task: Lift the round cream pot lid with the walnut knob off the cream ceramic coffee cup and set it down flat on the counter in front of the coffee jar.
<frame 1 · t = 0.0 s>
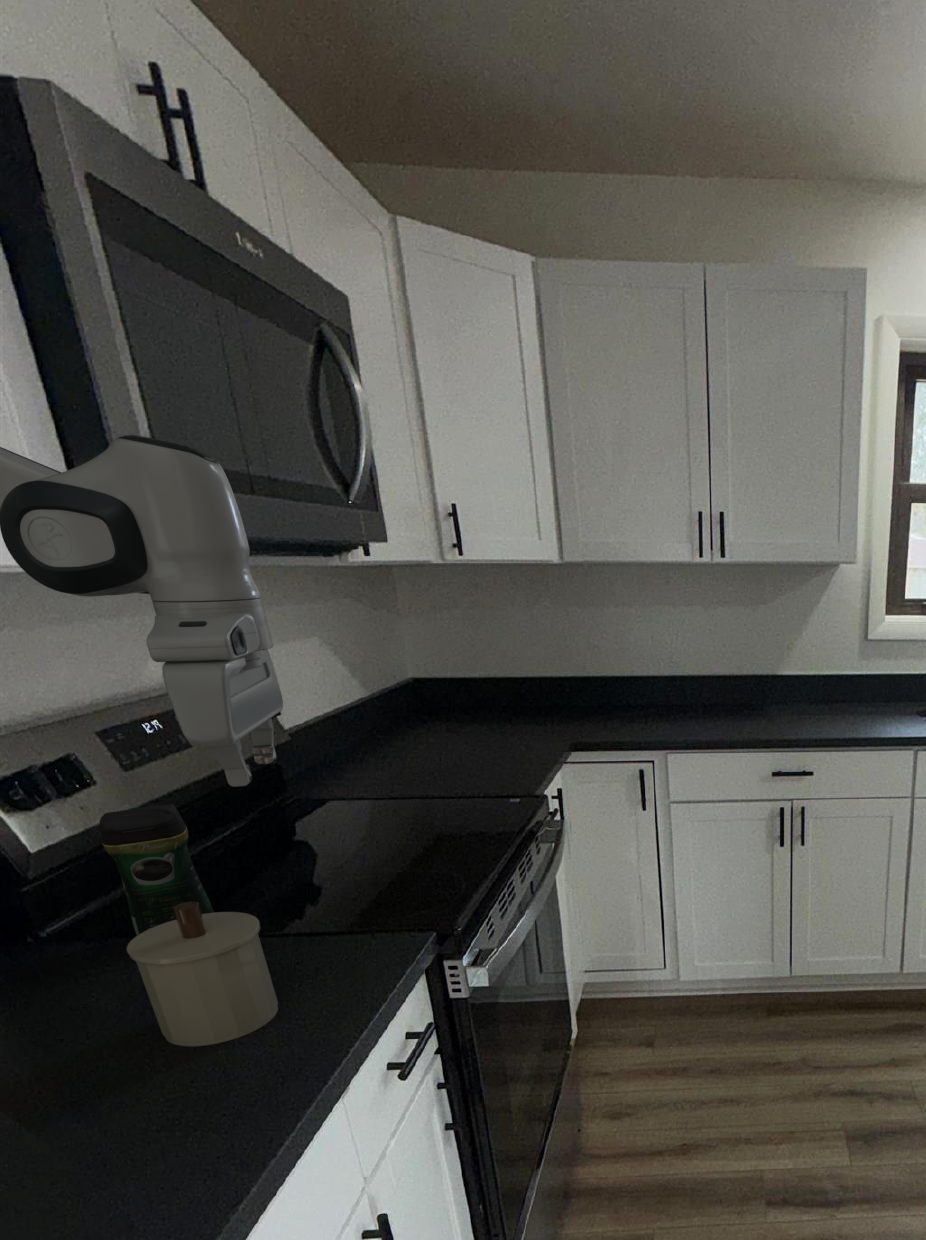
hand: (254, 773, 86), 30 cm above the counter, tool pointing down, fingers open, 8 cm apart
coffee jar: (179, 934, 120), on the counter
cup: (222, 1019, 98), on the counter
cream pot lid: (196, 938, 94), point 11 cm above the counter, touching cup
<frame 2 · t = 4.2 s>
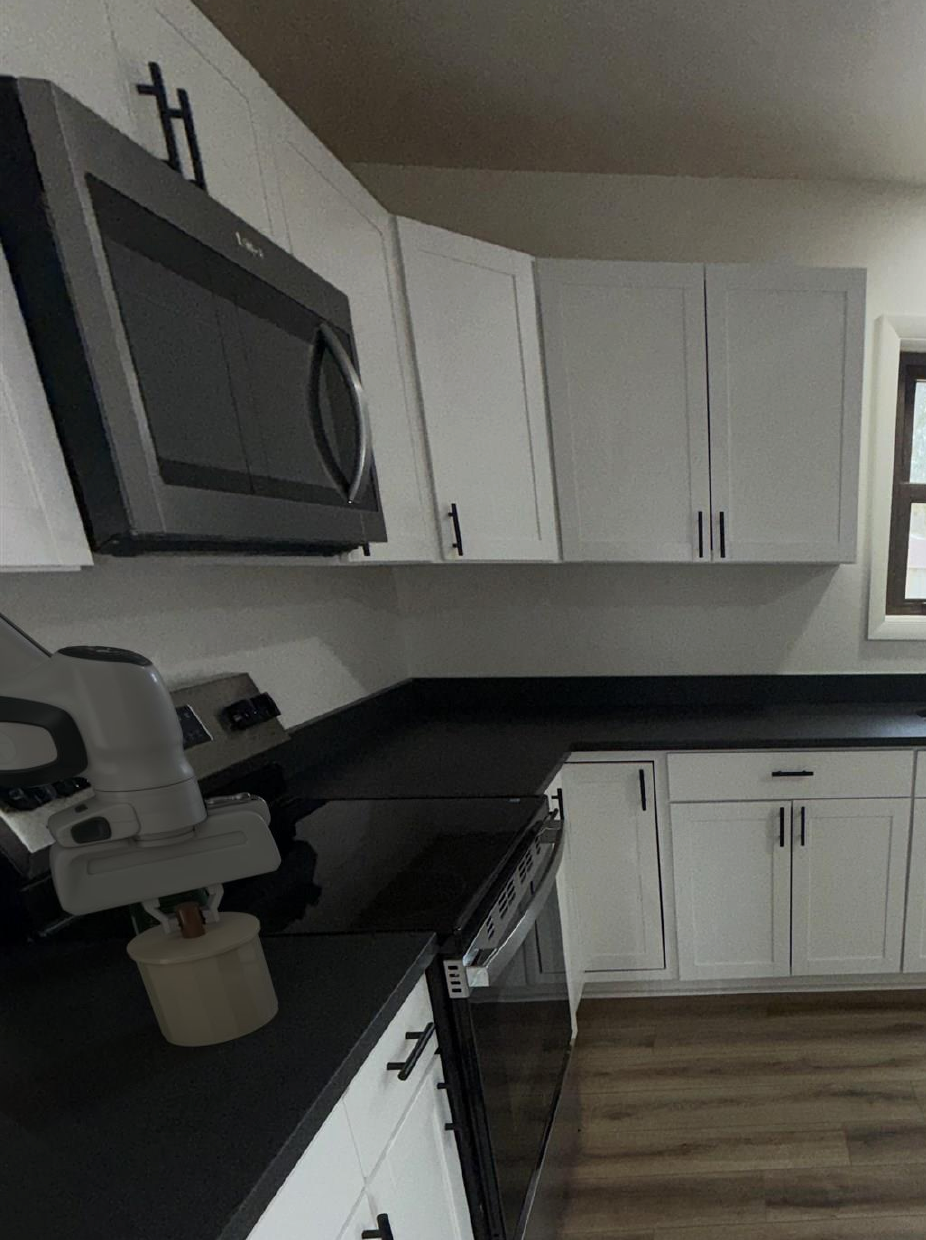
hand: (192, 926, 93), 12 cm above the counter, tool pointing down, fingers closed on cream pot lid, 2 cm apart
cream pot lid: (196, 938, 94), point 11 cm above the counter, touching cup, gripper
everything else where it was.
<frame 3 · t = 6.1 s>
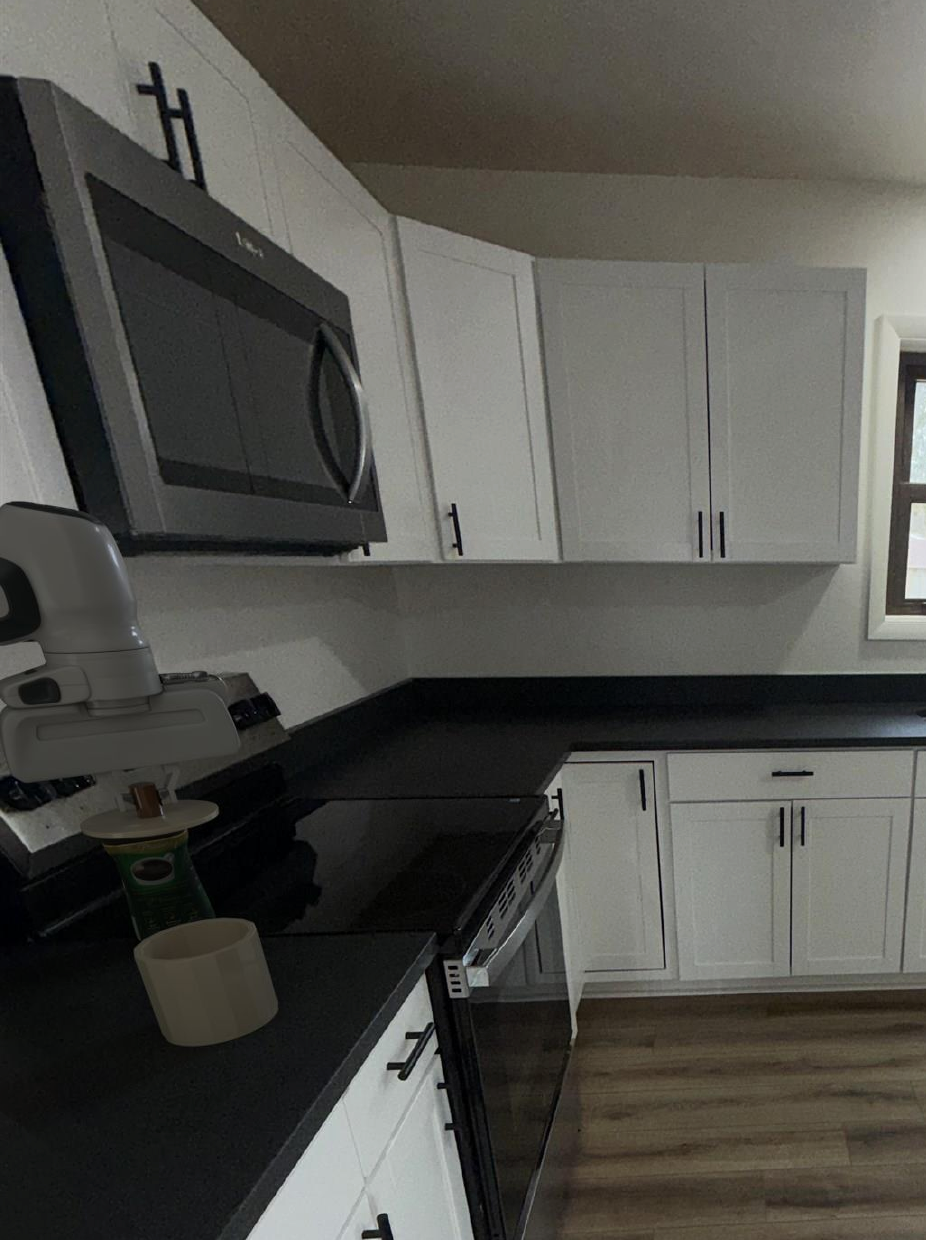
hand: (148, 807, 92), 25 cm above the counter, tool pointing down, fingers closed on cream pot lid, 2 cm apart
cream pot lid: (153, 820, 92), point 23 cm above the counter, touching gripper
everything else where it was.
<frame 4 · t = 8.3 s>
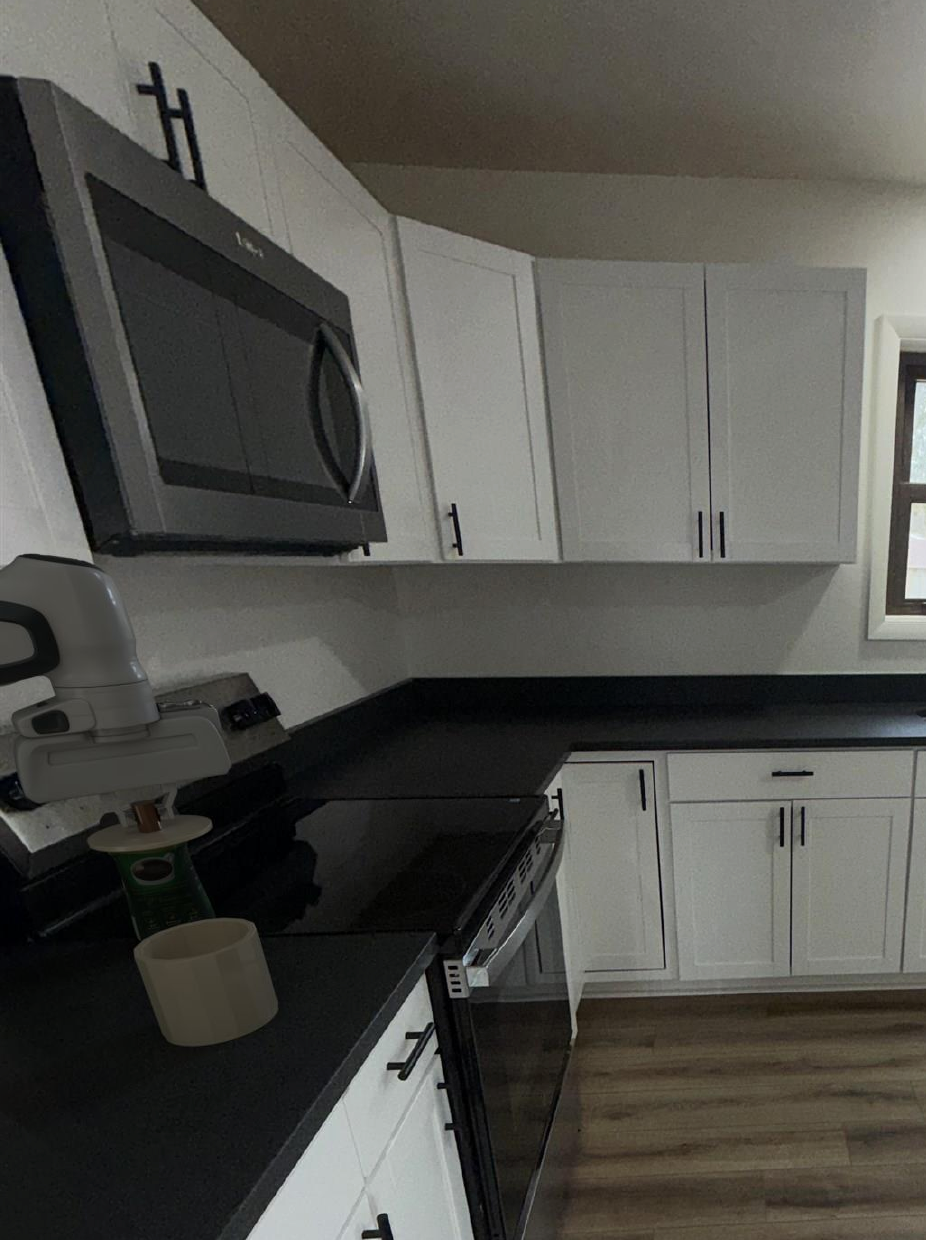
hand: (148, 823, 101), 20 cm above the counter, tool pointing down, fingers closed on cream pot lid, 2 cm apart
cream pot lid: (152, 834, 102), point 19 cm above the counter, touching gripper
everything else where it was.
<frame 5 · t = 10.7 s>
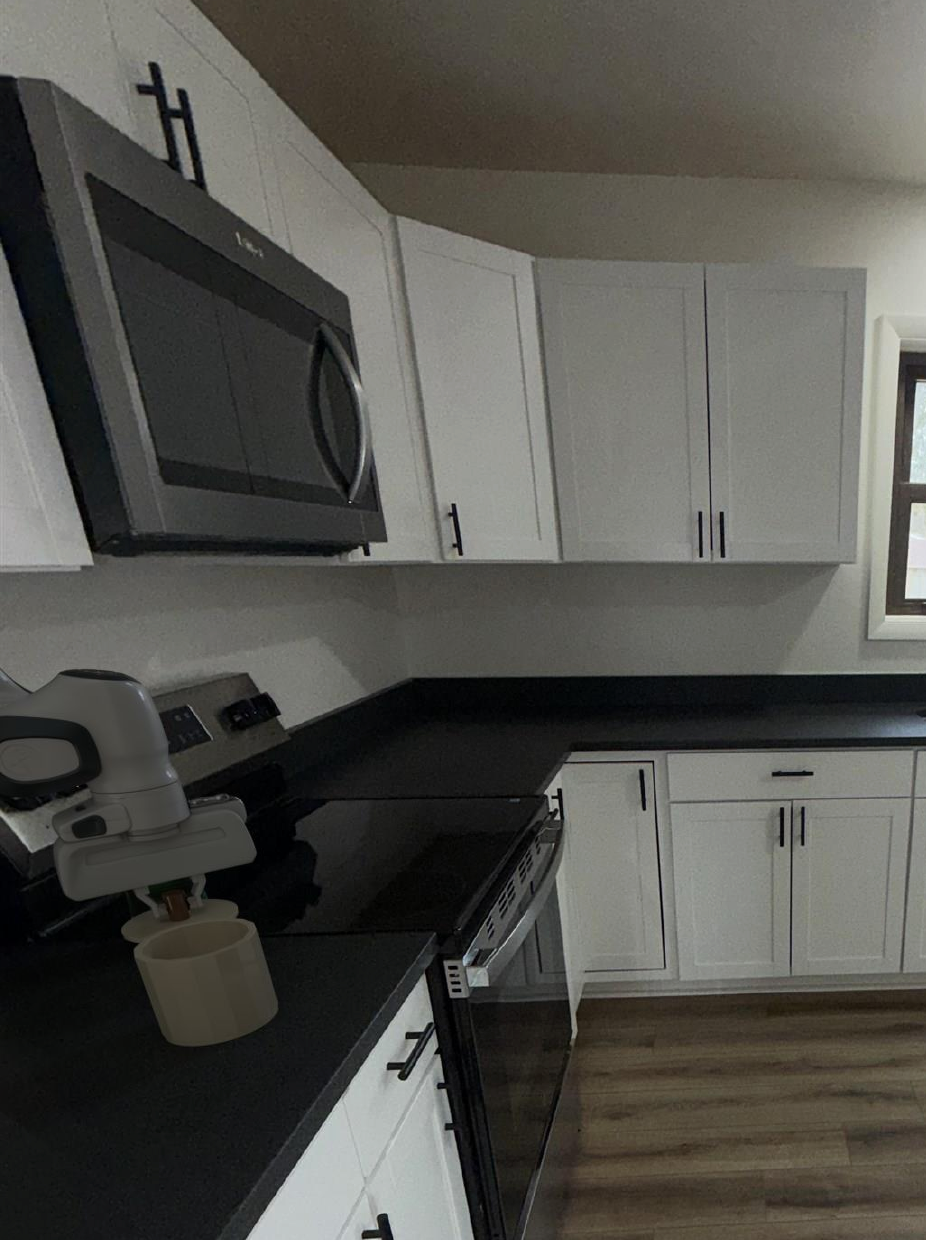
hand: (178, 911, 106), 8 cm above the counter, tool pointing down, fingers closed on cream pot lid, 2 cm apart
cream pot lid: (182, 922, 107), point 7 cm above the counter, touching gripper
everything else where it was.
when the fingers open (2 cm above the counter, at t = 12.4 s): cream pot lid stays where it is, point 1 cm above the counter.
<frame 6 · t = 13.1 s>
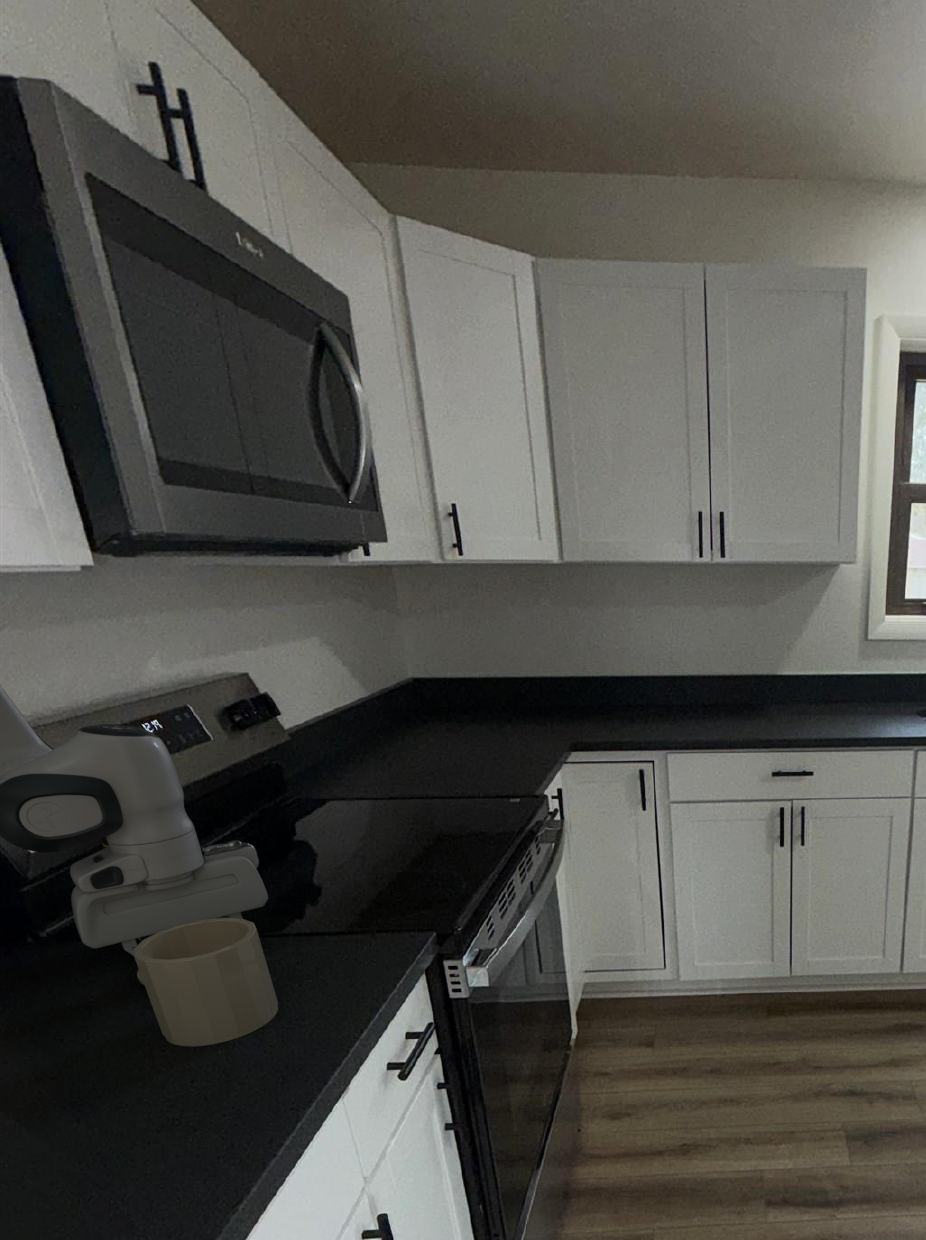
hand: (191, 955, 109), 2 cm above the counter, tool pointing down, fingers open, 8 cm apart
cream pot lid: (196, 965, 110), point 1 cm above the counter
everything else where it was.
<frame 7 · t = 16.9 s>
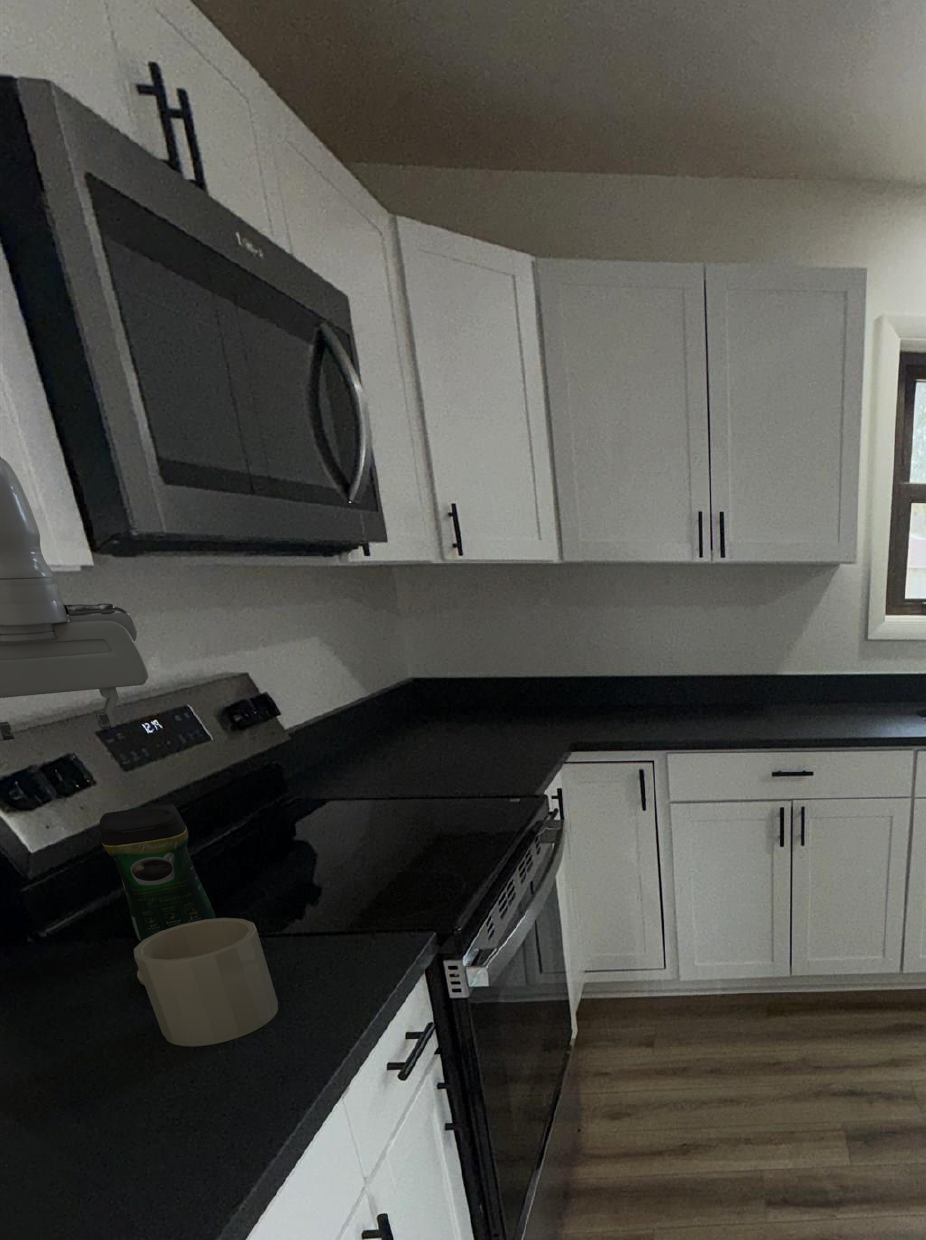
hand: (58, 733, 97), 31 cm above the counter, tool pointing down, fingers open, 8 cm apart
nothing on the counter moved.
at the end: cream pot lid inside the target area on the counter beside the cup (0.4 cm from its centre), point 0.6 cm above the counter; cream pot lid tilted 0°; coffee jar moved 0.2 cm from its start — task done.
